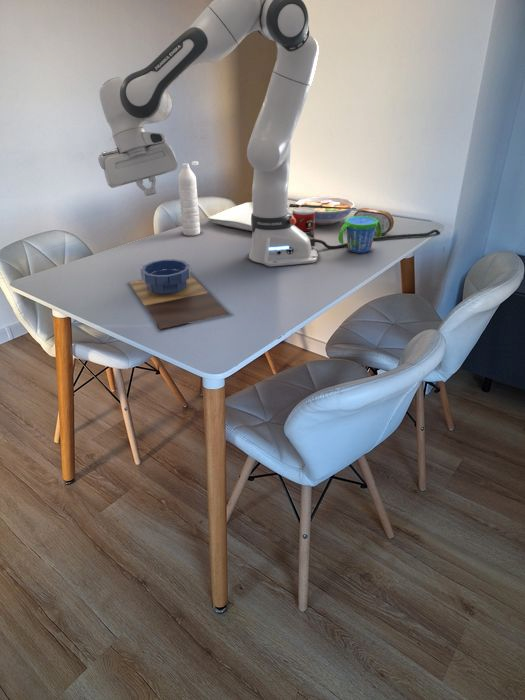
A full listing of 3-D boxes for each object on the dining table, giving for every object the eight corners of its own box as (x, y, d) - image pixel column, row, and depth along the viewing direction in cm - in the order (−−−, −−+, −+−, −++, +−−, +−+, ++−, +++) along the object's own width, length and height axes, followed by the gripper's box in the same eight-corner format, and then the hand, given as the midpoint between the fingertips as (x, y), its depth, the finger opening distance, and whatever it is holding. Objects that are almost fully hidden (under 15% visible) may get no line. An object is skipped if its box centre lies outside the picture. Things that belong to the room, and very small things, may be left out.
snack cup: (344, 257, 166) (346, 226, 161) (331, 247, 175) (332, 218, 169) (387, 252, 170) (390, 221, 165) (372, 242, 179) (375, 213, 173)
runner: (129, 283, 150) (129, 282, 150) (187, 272, 156) (187, 271, 156) (144, 306, 136) (144, 305, 135) (208, 294, 142) (208, 292, 142)
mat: (144, 306, 136) (144, 305, 135) (208, 294, 142) (208, 292, 142) (160, 330, 124) (160, 328, 124) (229, 315, 131) (229, 313, 130)
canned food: (299, 245, 177) (300, 213, 172) (288, 239, 183) (288, 208, 178) (318, 242, 180) (319, 210, 175) (306, 236, 186) (307, 205, 181)
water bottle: (190, 237, 187) (184, 165, 175) (179, 233, 191) (172, 163, 179) (208, 231, 193) (203, 162, 180) (197, 228, 197) (191, 160, 184)
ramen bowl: (358, 216, 208) (359, 195, 204) (353, 233, 189) (355, 210, 184) (297, 213, 213) (297, 193, 209) (287, 229, 194) (287, 207, 190)
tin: (392, 234, 186) (395, 211, 182) (389, 236, 184) (392, 213, 180) (354, 228, 193) (356, 206, 189) (351, 230, 191) (352, 208, 187)
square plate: (247, 210, 219) (247, 200, 217) (302, 219, 205) (302, 209, 203) (206, 225, 200) (205, 215, 198) (264, 237, 186) (264, 226, 184)
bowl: (193, 278, 152) (191, 258, 149) (188, 296, 140) (186, 275, 137) (148, 279, 152) (146, 259, 149) (140, 297, 140) (137, 276, 137)
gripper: (97, 150, 132) (117, 203, 136) (169, 132, 140) (187, 183, 143) (94, 156, 138) (113, 207, 141) (163, 139, 145) (180, 187, 149)
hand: (151, 195), depth 142 cm, fingers closed
